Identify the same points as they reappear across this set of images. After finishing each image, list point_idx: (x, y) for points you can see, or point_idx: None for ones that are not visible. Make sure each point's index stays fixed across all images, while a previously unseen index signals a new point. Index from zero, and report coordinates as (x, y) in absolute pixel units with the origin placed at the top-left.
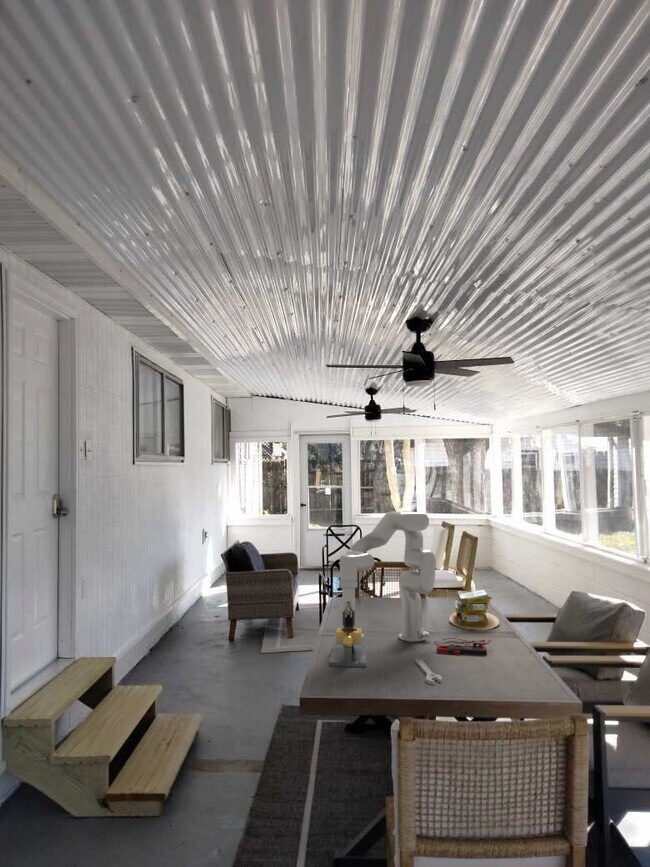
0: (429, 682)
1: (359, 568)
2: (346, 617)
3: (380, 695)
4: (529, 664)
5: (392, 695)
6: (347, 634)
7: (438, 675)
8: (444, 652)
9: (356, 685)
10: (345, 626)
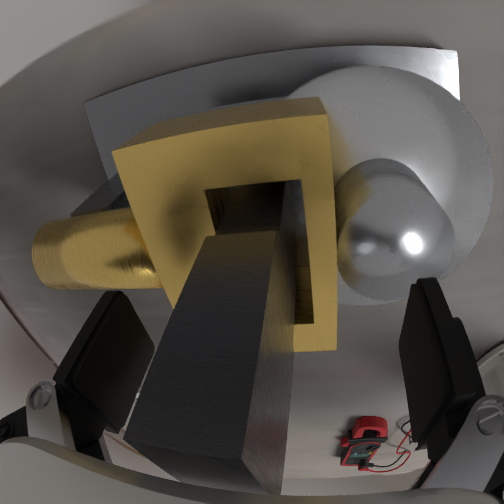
0: None
1: None
2: (46, 391)
3: (14, 301)
4: (297, 474)
5: (29, 322)
6: (108, 268)
7: None
8: (354, 427)
9: (13, 248)
10: (108, 293)
